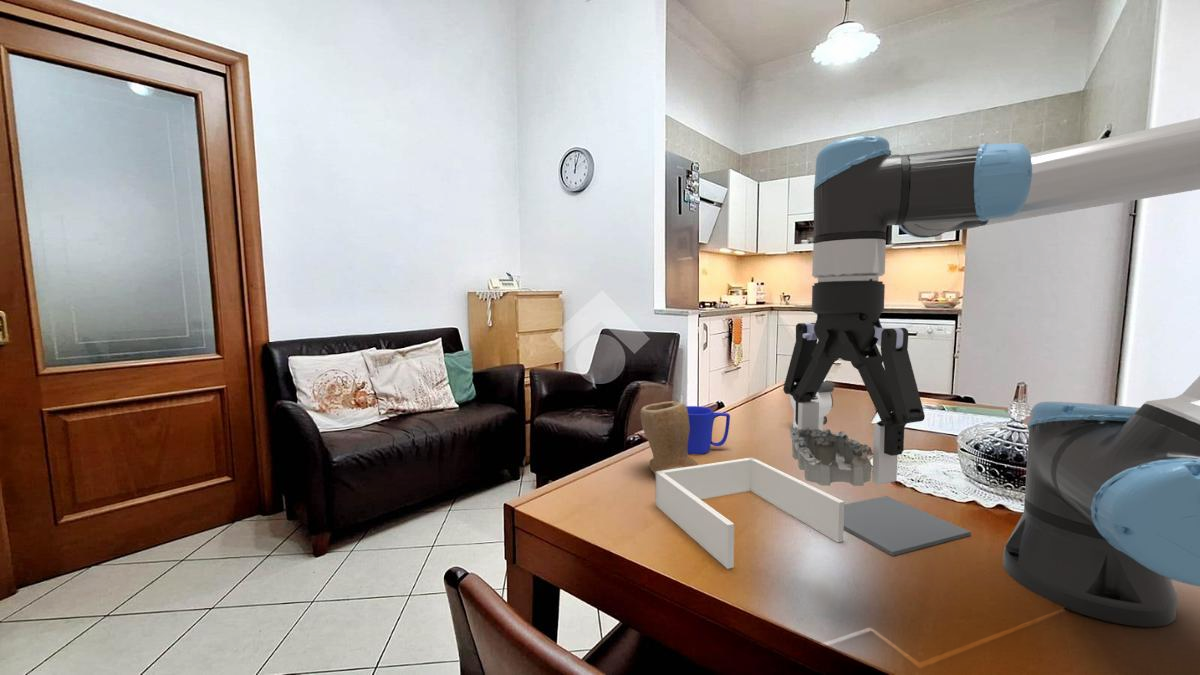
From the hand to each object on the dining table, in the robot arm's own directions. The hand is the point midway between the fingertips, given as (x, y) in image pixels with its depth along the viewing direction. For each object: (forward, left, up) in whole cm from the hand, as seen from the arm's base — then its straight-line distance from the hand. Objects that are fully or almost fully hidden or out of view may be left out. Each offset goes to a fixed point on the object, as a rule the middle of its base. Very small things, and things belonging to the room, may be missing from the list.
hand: (842, 465), depth 58 cm
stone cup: (+40, +1, -16) cm, 43 cm away
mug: (+51, -13, -16) cm, 55 cm away
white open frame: (+20, 0, -16) cm, 25 cm away
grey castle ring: (0, 0, -2) cm, 2 cm away
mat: (+10, -21, -16) cm, 28 cm away
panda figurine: (+52, -45, -16) cm, 71 cm away
